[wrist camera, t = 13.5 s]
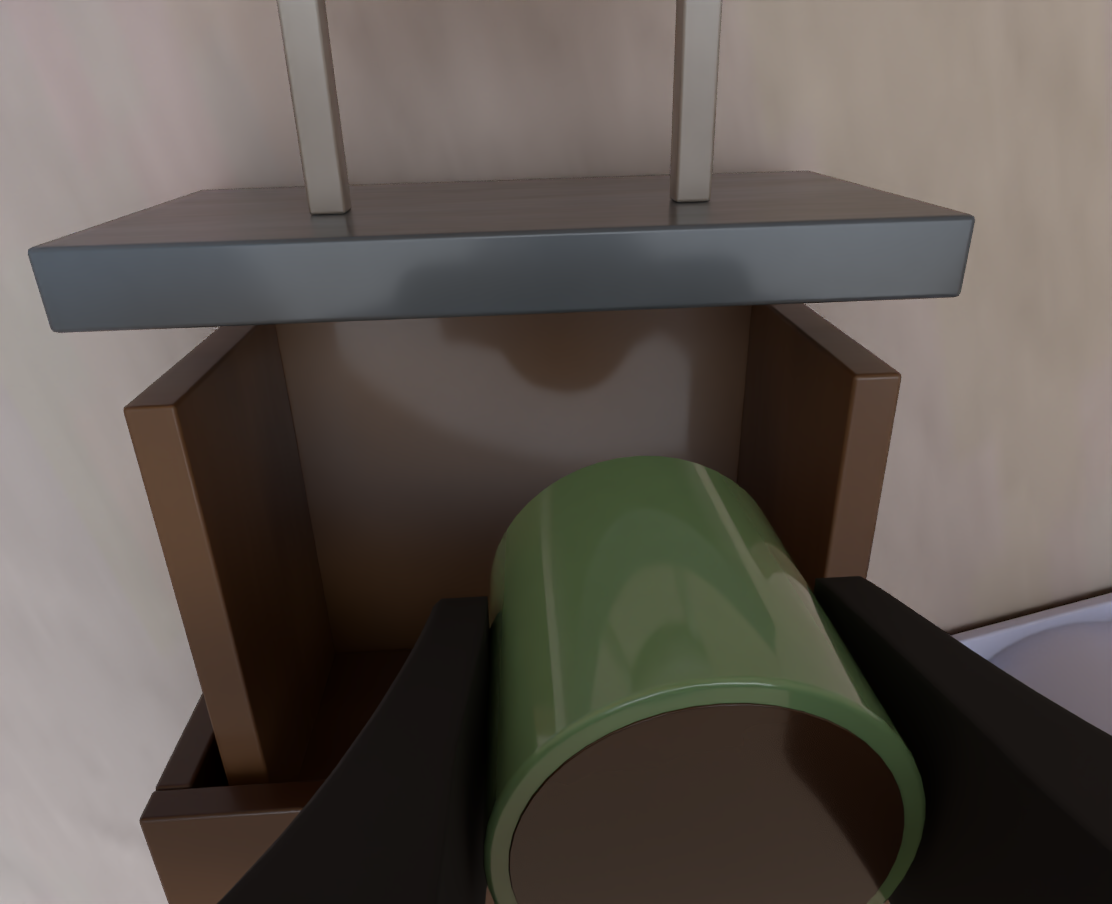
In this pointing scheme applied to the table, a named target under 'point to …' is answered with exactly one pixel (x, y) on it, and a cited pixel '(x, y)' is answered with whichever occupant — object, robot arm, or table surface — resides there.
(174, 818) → the cabinet
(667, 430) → the drawer
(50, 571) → the table surface
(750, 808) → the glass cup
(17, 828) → the table surface
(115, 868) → the table surface
